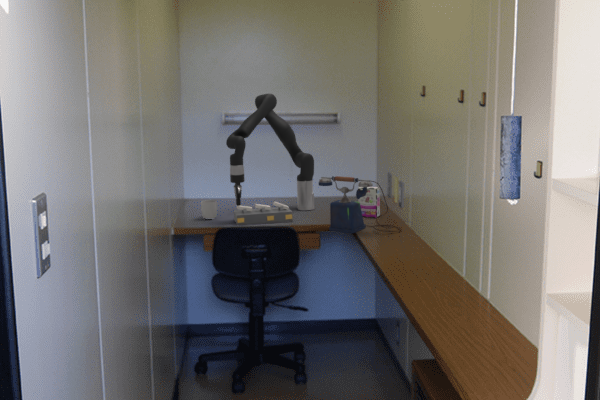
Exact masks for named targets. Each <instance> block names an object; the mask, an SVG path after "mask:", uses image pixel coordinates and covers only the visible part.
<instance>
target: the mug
mask: <svg viewBox="0 0 600 400" xmlns="http://www.w3.org/2000/svg"><path fill="white" fill-rule="evenodd" d="M200 209H201V215H202V218H203V217H204V218H215V217H216V218H217V214H218V202H217V200H216V199H204V200H201V201H200ZM204 218H203V219H204ZM216 218H215V219H216Z"/></svg>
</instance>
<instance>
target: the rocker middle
mask: <svg viewBox="0 0 600 400" xmlns="http://www.w3.org/2000/svg"><path fill="white" fill-rule="evenodd" d="M262 207H265V209H267V210H270V209H271V208H272V206H270V205H267V204H260V203H254V208H255V209H262Z"/></svg>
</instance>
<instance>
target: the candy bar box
mask: <svg viewBox="0 0 600 400" xmlns="http://www.w3.org/2000/svg"><path fill="white" fill-rule="evenodd" d="M380 187H381V186H380ZM380 187H379V186H372V187H367V193H366V195H365V196H364V197H361V198H360V199H357V200H358V201H357V202H360V206H361V211H362V216H363V218H372V219H373V218H375V219H376V217H378V216H379V215H381V202H380V201H381V195H380V194H381V191H380V190H381V189H380ZM358 189H360V190H363V187H359V186H358V188H357V190H358ZM379 217H380V216H379ZM379 217H378V218H379Z"/></svg>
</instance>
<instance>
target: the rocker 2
mask: <svg viewBox="0 0 600 400" xmlns="http://www.w3.org/2000/svg"><path fill="white" fill-rule="evenodd" d="M272 205H273V206H275V207H280V206H283V208H284V209H286V210H288V208H289V209H290V207H289V206H288V205H286V204H284V203H280V202H278V201H275V200H274V201H273V204H272Z"/></svg>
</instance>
